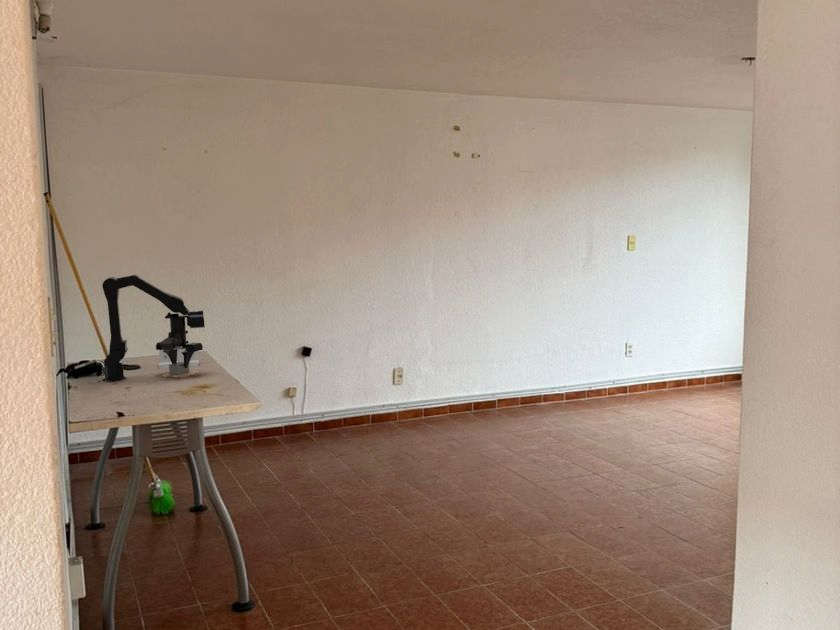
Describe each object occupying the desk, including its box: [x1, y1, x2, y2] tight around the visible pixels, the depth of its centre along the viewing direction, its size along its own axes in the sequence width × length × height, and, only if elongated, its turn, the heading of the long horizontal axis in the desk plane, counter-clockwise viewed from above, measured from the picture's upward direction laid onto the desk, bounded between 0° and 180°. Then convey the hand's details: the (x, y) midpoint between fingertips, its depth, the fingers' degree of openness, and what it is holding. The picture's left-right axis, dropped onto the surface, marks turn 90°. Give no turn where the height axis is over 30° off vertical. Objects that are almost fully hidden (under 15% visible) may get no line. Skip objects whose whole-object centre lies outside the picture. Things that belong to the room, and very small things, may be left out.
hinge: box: [157, 346, 200, 370], centre depth 335 cm, size 17×5×10 cm, turn 107°
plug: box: [168, 361, 191, 375], centre depth 318 cm, size 4×9×4 cm
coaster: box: [161, 370, 200, 379], centre depth 318 cm, size 10×10×1 cm
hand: (180, 367), depth 318 cm, fingers open, 5 cm apart
